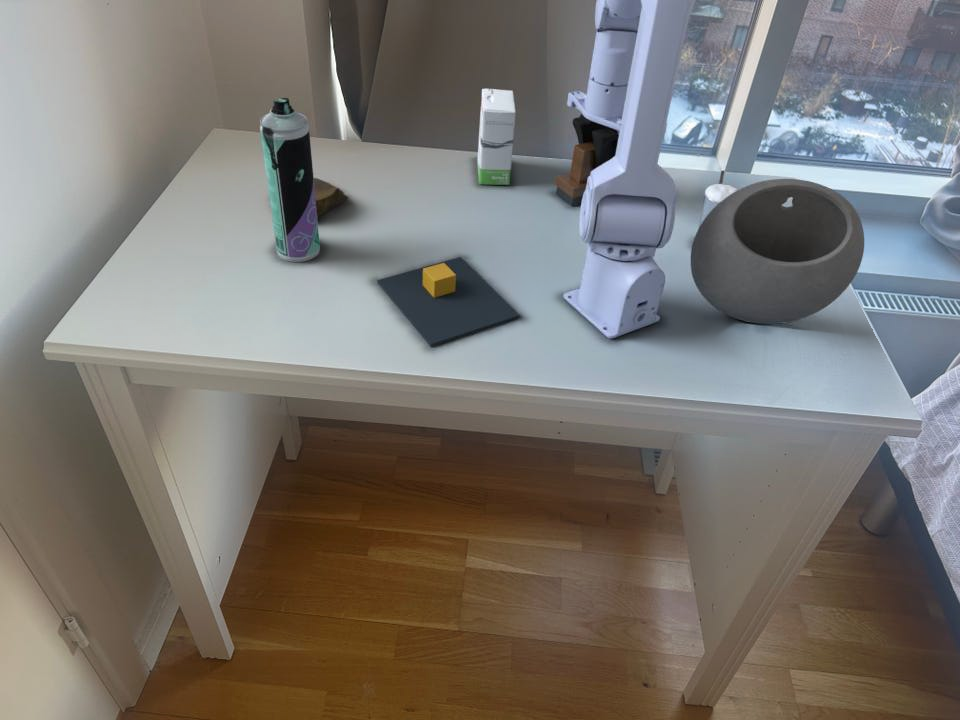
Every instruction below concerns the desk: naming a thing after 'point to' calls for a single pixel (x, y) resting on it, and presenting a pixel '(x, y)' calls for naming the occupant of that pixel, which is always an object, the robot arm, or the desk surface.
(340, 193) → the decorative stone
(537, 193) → the desk surface
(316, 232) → the spray can
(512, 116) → the ink box
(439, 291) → the mustard wooden cube
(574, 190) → the brush
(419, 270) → the mat
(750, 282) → the planter
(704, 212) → the milkshake
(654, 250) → the robot arm
